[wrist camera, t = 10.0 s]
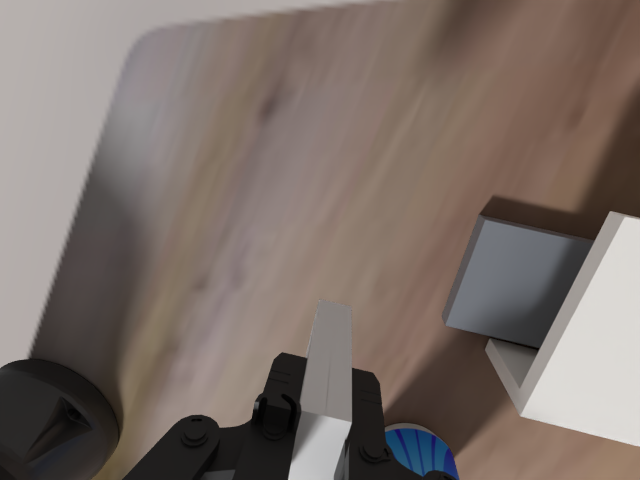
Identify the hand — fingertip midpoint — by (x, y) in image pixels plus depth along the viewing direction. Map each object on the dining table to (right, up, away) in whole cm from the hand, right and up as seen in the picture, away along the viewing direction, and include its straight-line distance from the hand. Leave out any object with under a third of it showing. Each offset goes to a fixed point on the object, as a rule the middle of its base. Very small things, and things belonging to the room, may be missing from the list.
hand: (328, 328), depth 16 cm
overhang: (+21, 0, +11) cm, 24 cm away
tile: (+18, 0, +12) cm, 21 cm away
